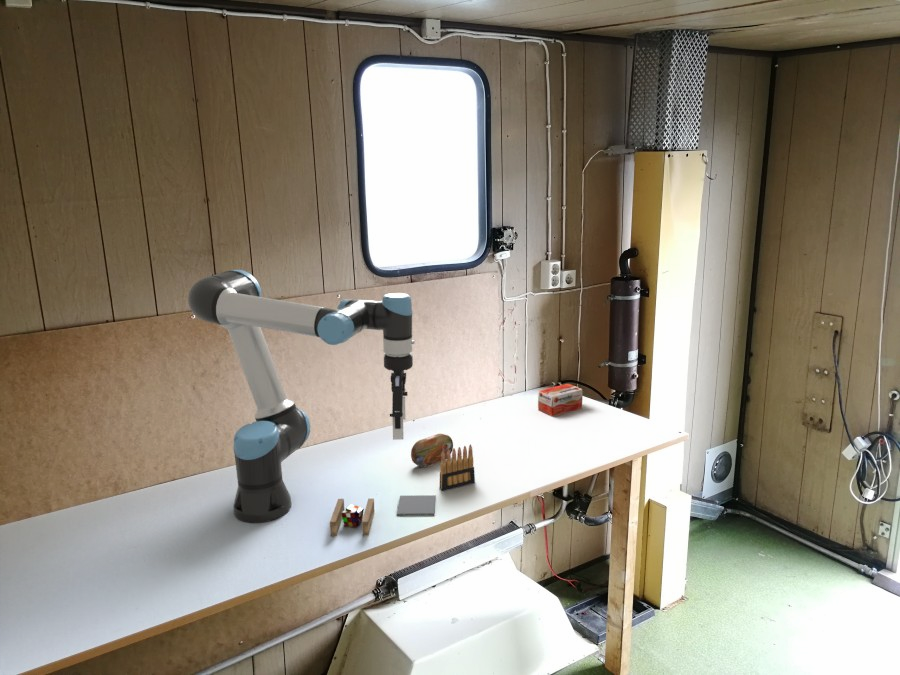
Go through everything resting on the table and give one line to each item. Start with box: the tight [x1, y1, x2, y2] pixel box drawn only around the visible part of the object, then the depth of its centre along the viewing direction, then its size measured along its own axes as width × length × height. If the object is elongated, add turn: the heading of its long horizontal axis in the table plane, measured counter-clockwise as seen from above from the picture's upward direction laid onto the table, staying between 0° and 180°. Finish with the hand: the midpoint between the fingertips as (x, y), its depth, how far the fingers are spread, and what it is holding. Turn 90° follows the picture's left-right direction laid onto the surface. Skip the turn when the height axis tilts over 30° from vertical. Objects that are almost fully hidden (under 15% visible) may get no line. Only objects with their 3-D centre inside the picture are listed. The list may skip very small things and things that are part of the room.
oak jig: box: [329, 498, 375, 537], centre depth 178 cm, size 10×12×4 cm
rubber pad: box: [396, 494, 437, 517], centre depth 187 cm, size 10×10×1 cm
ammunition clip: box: [439, 444, 476, 492], centre depth 197 cm, size 11×2×12 cm, turn 117°
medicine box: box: [537, 383, 583, 417], centre depth 256 cm, size 15×8×8 cm, turn 122°
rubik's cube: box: [341, 503, 365, 528], centre depth 178 cm, size 4×5×5 cm
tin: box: [410, 433, 454, 468], centre depth 213 cm, size 15×3×8 cm, turn 129°
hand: (399, 428), depth 184 cm, fingers open, 13 cm apart
